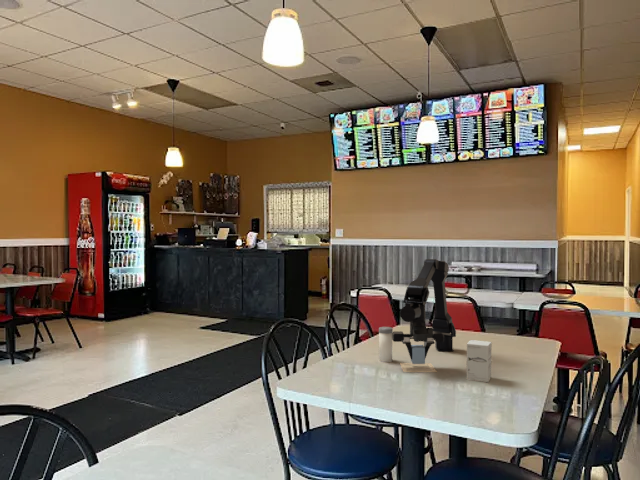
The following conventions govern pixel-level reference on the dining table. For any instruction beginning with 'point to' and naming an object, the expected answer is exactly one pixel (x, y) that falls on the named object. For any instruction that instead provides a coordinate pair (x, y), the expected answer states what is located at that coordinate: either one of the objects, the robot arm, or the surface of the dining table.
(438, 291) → the robot arm
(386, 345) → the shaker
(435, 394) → the dining table surface
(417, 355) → the blue block
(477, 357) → the supplement box
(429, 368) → the letter card
